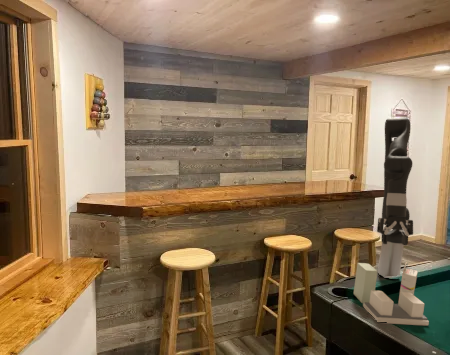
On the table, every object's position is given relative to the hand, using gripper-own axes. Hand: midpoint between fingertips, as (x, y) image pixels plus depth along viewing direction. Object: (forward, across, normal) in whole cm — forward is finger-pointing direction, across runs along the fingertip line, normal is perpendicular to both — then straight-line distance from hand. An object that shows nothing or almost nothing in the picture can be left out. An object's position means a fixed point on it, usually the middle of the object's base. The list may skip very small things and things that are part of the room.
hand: (394, 244), depth 150 cm
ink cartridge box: (+22, -5, +2) cm, 22 cm away
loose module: (+22, +14, +2) cm, 26 cm away
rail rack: (+24, +8, +15) cm, 30 cm away
